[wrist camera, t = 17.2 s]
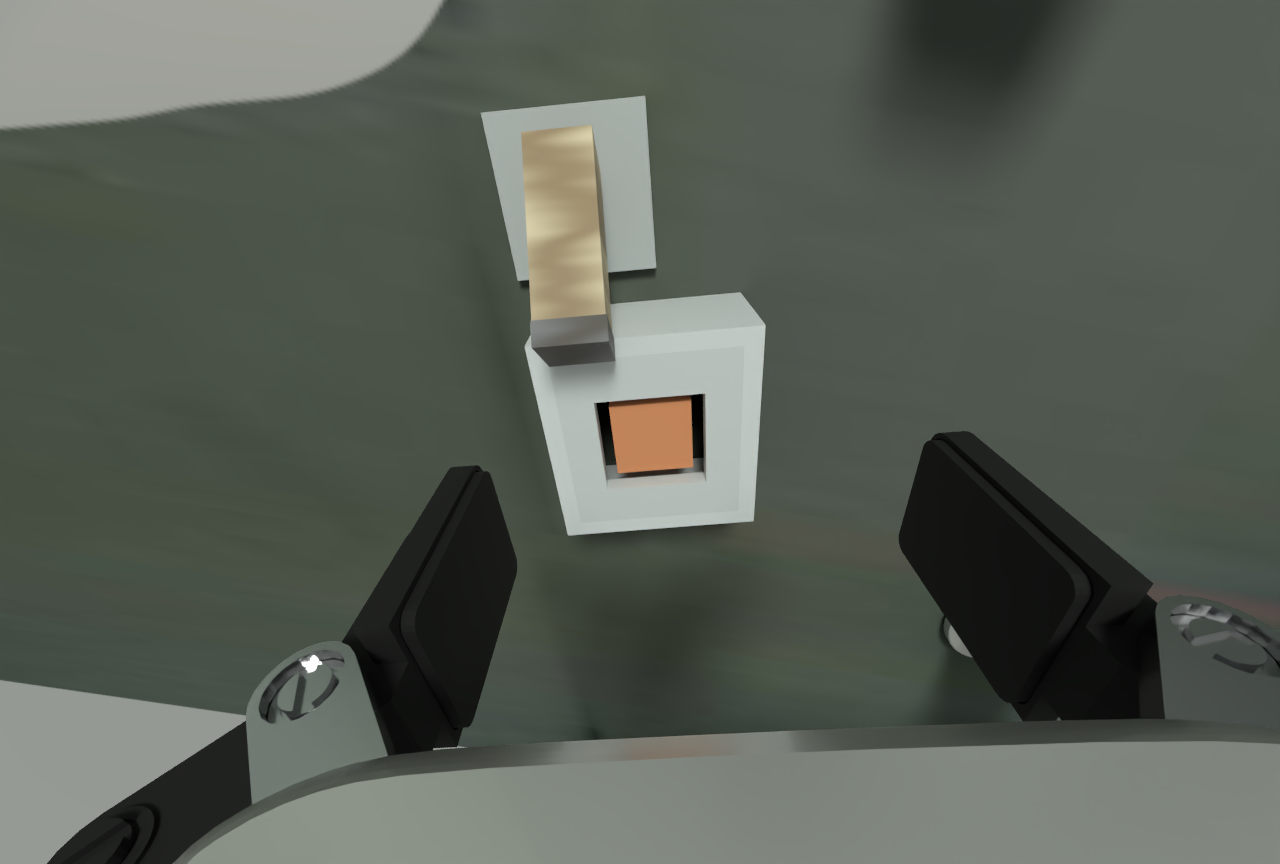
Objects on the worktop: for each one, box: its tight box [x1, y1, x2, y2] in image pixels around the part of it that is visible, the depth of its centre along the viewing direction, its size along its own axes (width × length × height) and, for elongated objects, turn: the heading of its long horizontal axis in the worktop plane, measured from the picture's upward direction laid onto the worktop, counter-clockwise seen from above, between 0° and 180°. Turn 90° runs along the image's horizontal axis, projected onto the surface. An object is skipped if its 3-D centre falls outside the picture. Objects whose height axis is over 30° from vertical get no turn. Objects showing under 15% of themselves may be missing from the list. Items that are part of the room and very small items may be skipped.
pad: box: [481, 96, 656, 281], centre depth 25 cm, size 8×8×1 cm
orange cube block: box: [609, 395, 693, 473], centre depth 29 cm, size 5×5×5 cm
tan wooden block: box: [521, 125, 616, 367], centre depth 22 cm, size 3×3×10 cm
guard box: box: [525, 292, 766, 535], centre depth 29 cm, size 12×13×6 cm
